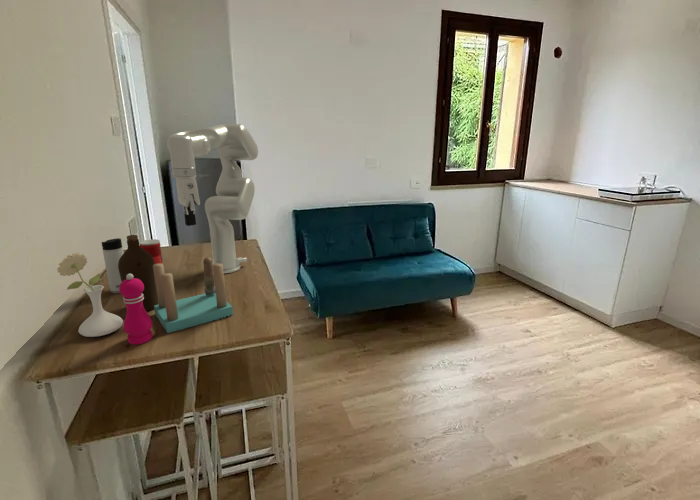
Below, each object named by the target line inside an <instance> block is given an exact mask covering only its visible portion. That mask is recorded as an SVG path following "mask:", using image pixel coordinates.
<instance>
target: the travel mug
mask: <svg viewBox="0 0 700 500" xmlns="http://www.w3.org/2000/svg"><path fill="white" fill-rule="evenodd" d="M101 247H102V253H103V260H104V264H105V269H106V274H107V275H106V276H107V279H108V286H109V292H110V293H112V294H121V293H120V291H119V286H120V284H121V283H122V281H121V277H120V273H119V269H118V262H119V259H120V257H121V256H122V255H123V254H124V252H125V251H124V247H123V243H122V238H117V237H116V238H112V239H108V240H105V241H102V242H101Z"/></svg>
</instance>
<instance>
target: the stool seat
mask: <svg viewBox="0 0 700 500" xmlns="http://www.w3.org/2000/svg"><path fill="white" fill-rule="evenodd" d="M164 265H165V264H164V263H159V264H154V265H153V271H154V277H155V284H156V290H157V297H158V303H159V304H158V305H154V308H155V309H154V313H155V316H156V317H157V319H158V320H159V322H160V324H161V326H162V327H163V329H164V330H165V332H166V334H170V333H174V332H177V331H181V330H184V329H188V328H191V327H195V326H199V325H203V324H206V323H210V322H213V320H214V321H216V320H217V321H218V320H220V318H221V319H224V318H227V317H226V316H228V317H231V316H230V315H232V316H233V315H234V310H233V306H232V305H231V304H230V303H229V302H228V301H227V294H226V293H227V292H226V285H225V284H226V283H225V275H224V274H225V273H224V272H223V264H221V263H217V264H213V273H214V287H215V292H216V293H214V294H210V295H206V294H205V293H202V294H198V295H194V296H189V297H184V298H180V299H177V298H176V292H175V285H174V284H175V282H174V276H173V273H171V272H167V273H166V272H165V267H164ZM223 317H224V318H223Z"/></svg>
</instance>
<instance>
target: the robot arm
mask: <svg viewBox="0 0 700 500" xmlns="http://www.w3.org/2000/svg"><path fill="white" fill-rule="evenodd" d="M166 146H167V149H168V152H169V157H170V165H171V171H172V172H171V173H172V178H173V179H175V184H176V194H177V195H176V196H177V200H178V203H179V204H180V205H182V210H183V215H184V223H185V226H187V227H189V226H195V225H197V221H196V220H197V218H196V206H198V207H199V206H200V205H201V201H200V195H199V194H200V193H199V189H198V183H197V170H196V159H195V157H204V156H206V155H208V154H209V153H210V152H211V151H216V150H218V154H219V159H220V163H221V166H222V167H221V168H222V170H221V173H220V174H219V175H220V176H219V179H218V181H217V184H216V188H215V193H216V195H214V196H210V197H208V198H207V199H206V200H205V203H204V210H205V214H206V218H207V220H208V226H209V227H208V228H209V236H210V244H211V251H212V252H211V253H212V260H213V264H217V263H221V264H223V272H224V274H229V273H235V272H237V271H238V270H241V263H246V262H248V258H247V257H246V256H245V257H241V256H239V257H237V254H236V253H237V252H236V243H235V231H234V226H233V225H232V223H231V221H230V220H234V221H239V220H240V221H241V220H245V219H246V218H248V214H249V212H250V209H251V207H252V206H251V205H252V202H253V199H254V195H255V183H254V182H253V180H252V179H251V178H249V177H243V172H242V169H241V167H240V166H239V165H238V163H236V161H254V160H256V159H257V158H258V155H259V148H258V145H257V143H256V140H254V138H253V136H252V135H251V132H250V131H249V130H248V129H247V128H246V126H244V125H243V124H239V123H238V124H237V123H236V124H234V123H231V124H229V123H228V124H227V123H225V124H224V123H221V124H217V125H213V126H209V127H205V128H198V129H194V130H193V129H192V130H187V131H179V132H177V133H172V134H171V135H169V137H168V139H167V143H166Z"/></svg>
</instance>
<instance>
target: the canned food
mask: <svg viewBox="0 0 700 500" xmlns="http://www.w3.org/2000/svg"><path fill="white" fill-rule="evenodd" d="M139 246H140V247H141V248H142V249H144V250H145V251H147V252H148V253H149V254H151V256H152V257H153V259H154V262H155V264H159V263H162V264H164V262H163V255H162V247H161V241H160V240H159V239H157V238H156V239H154V238H153V239H145V240H141V241H139Z"/></svg>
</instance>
